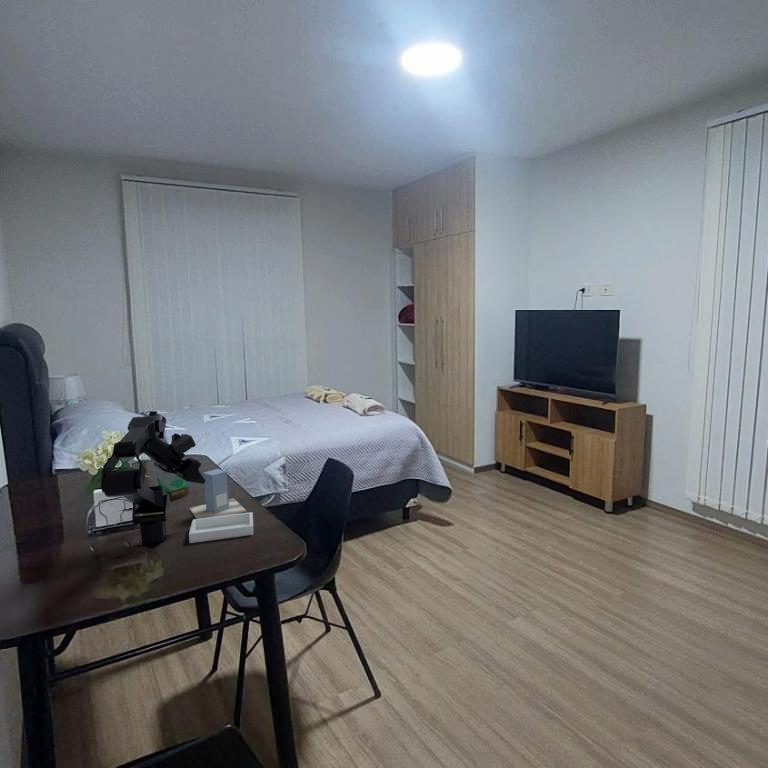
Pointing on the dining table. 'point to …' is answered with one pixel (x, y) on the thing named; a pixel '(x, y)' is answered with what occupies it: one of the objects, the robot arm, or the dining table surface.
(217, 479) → the carton
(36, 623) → the dining table surface
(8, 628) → the dining table surface
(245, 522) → the tray
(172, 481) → the food container
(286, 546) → the dining table surface
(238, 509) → the board
